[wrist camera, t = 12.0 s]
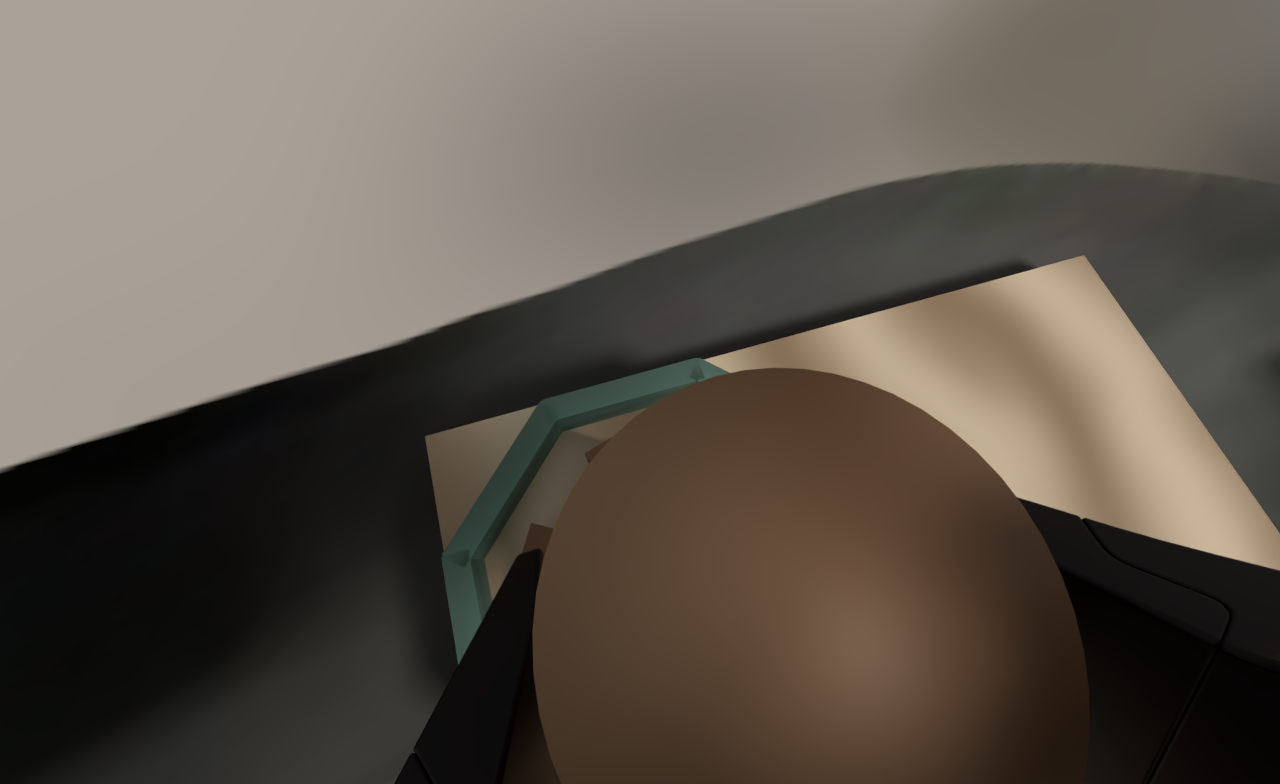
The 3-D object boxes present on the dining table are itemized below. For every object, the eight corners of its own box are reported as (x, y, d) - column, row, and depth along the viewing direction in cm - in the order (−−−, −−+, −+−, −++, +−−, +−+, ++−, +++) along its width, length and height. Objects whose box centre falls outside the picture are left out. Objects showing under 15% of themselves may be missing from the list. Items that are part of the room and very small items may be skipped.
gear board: (561, 1145, 12) (541, 1316, 10) (440, 446, 18) (406, 424, 16) (1383, 767, 16) (1550, 812, 13) (1054, 275, 22) (1118, 232, 19)
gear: (631, 847, 13) (640, 2235, 2) (475, 530, 16) (128, 452, 5) (898, 636, 15) (1617, 822, 4) (718, 385, 18) (862, 92, 7)
